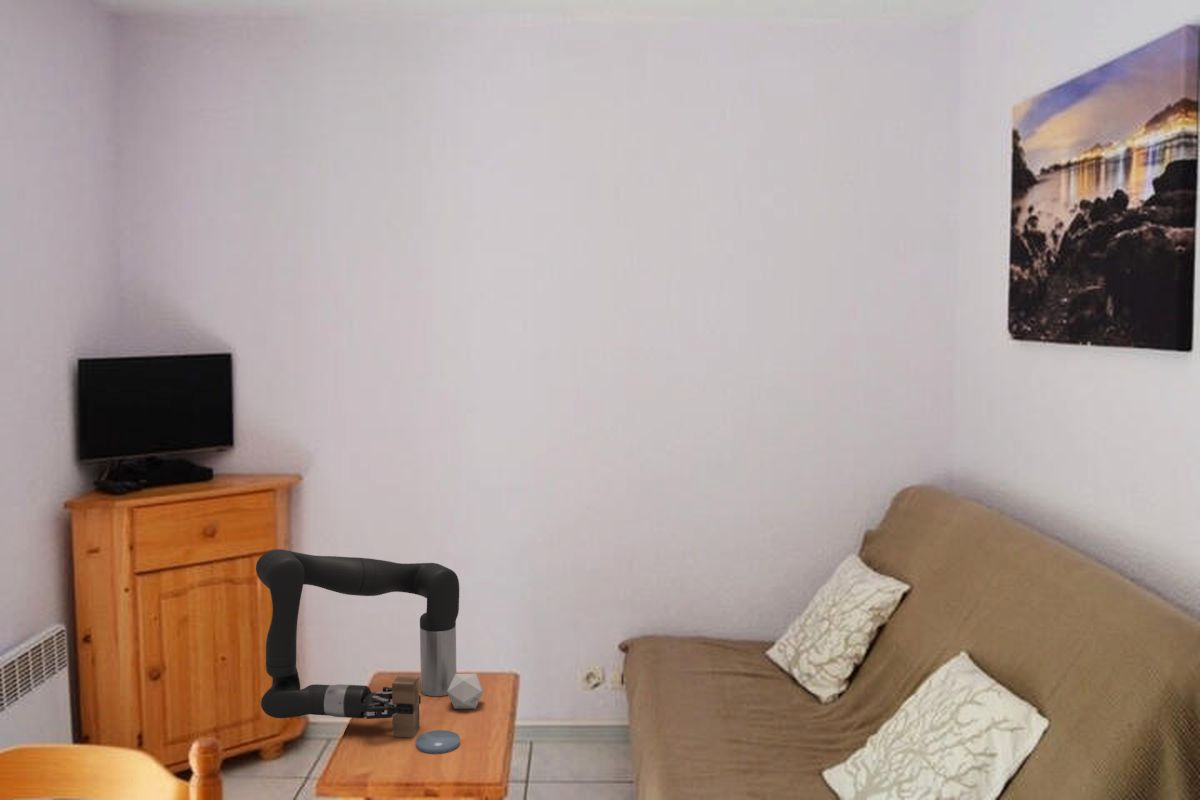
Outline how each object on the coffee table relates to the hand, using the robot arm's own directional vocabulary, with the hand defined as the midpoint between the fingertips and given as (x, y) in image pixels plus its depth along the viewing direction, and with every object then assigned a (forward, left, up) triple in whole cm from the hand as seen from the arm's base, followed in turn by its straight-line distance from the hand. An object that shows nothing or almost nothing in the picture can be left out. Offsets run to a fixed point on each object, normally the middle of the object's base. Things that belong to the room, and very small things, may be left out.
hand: (416, 704), depth 258 cm
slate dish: (+7, +5, -7) cm, 11 cm away
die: (-14, +13, -7) cm, 20 cm away
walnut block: (-1, -2, -7) cm, 7 cm away
